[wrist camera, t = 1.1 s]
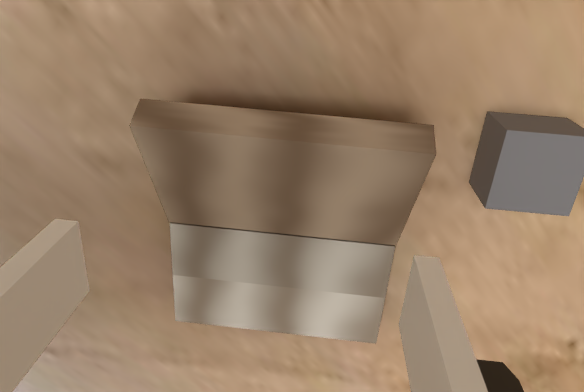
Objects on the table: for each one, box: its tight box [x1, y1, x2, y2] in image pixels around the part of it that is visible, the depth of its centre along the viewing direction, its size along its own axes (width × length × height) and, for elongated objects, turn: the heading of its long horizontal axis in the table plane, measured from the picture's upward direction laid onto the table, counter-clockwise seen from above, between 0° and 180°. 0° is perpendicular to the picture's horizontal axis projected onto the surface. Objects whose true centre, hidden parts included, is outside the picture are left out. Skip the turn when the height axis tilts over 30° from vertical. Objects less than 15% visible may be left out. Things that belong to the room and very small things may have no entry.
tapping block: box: [469, 111, 584, 216], centre depth 29 cm, size 5×5×4 cm
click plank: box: [129, 99, 436, 245], centre depth 28 cm, size 16×10×2 cm
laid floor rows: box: [170, 222, 395, 344], centre depth 35 cm, size 16×9×2 cm, turn 86°
